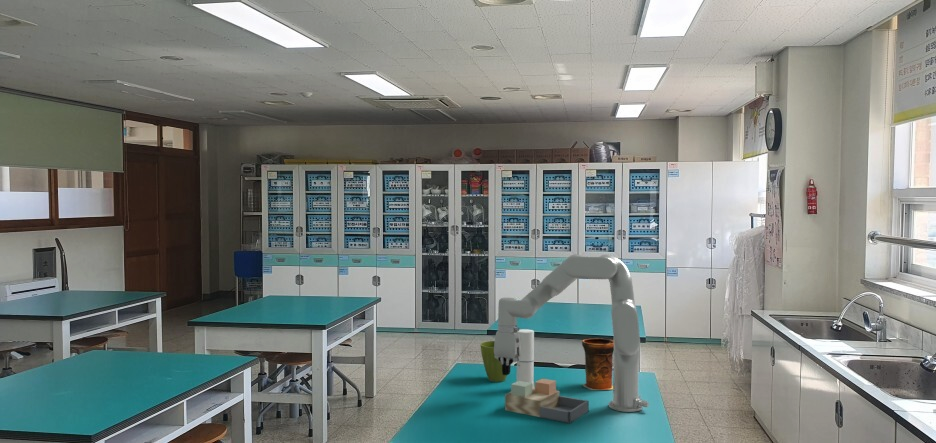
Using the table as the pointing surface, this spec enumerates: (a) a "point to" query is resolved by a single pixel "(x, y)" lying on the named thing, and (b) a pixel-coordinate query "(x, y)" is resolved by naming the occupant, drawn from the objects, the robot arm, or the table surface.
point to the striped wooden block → (531, 402)
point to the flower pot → (491, 362)
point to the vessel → (598, 363)
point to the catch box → (565, 410)
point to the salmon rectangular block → (545, 386)
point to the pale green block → (521, 388)
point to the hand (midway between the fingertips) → (506, 374)
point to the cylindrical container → (526, 356)
